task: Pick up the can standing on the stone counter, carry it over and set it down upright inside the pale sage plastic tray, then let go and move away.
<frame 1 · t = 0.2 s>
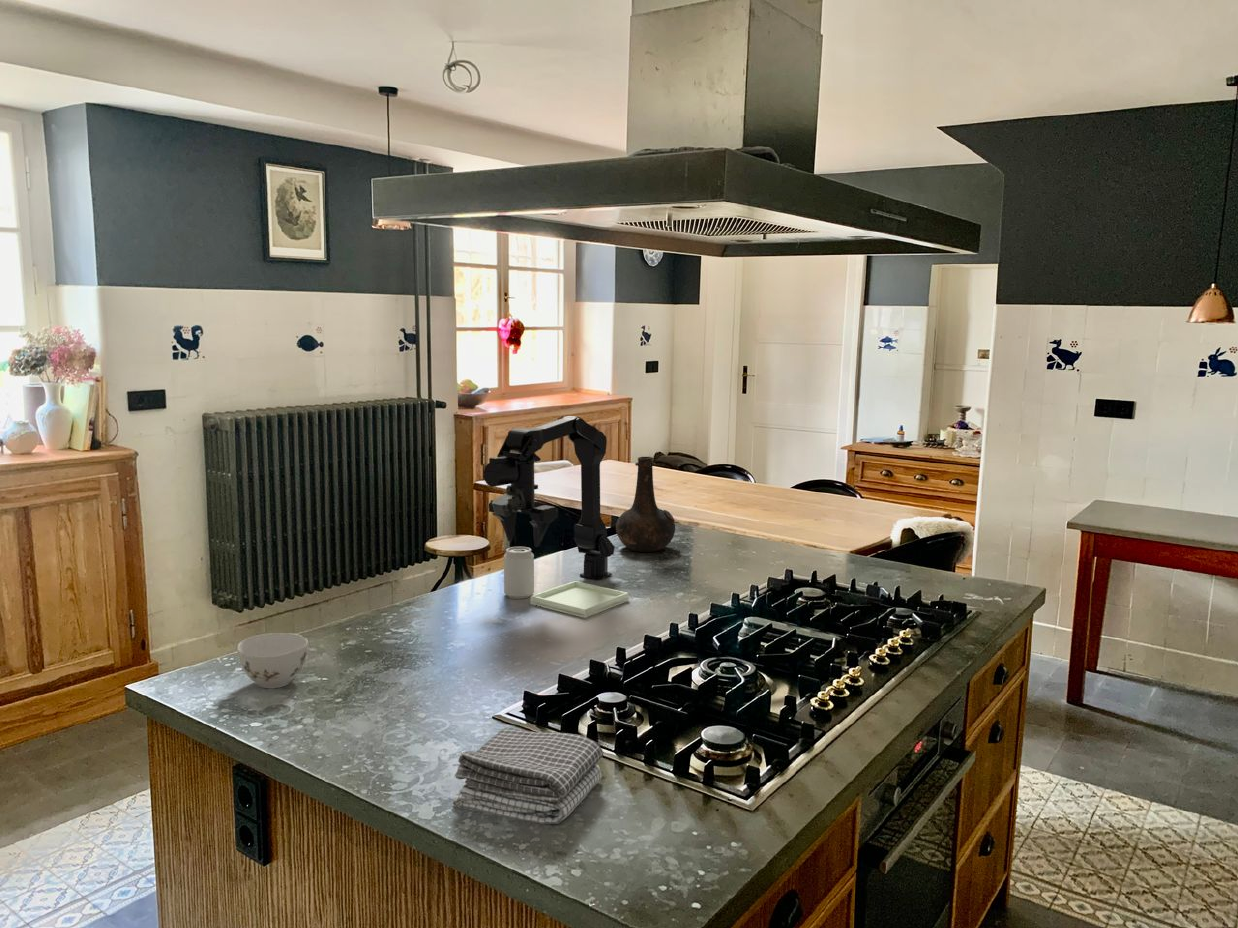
hand: (523, 543, 228), 14 cm above the worktop, tool pointing down, fingers open, 9 cm apart
towel: (528, 795, 137), on the worktop
teacup: (279, 681, 178), on the worktop
tray: (579, 602, 228), on the worktop
glass bottle: (645, 549, 282), on the worktop
can: (519, 596, 233), on the worktop
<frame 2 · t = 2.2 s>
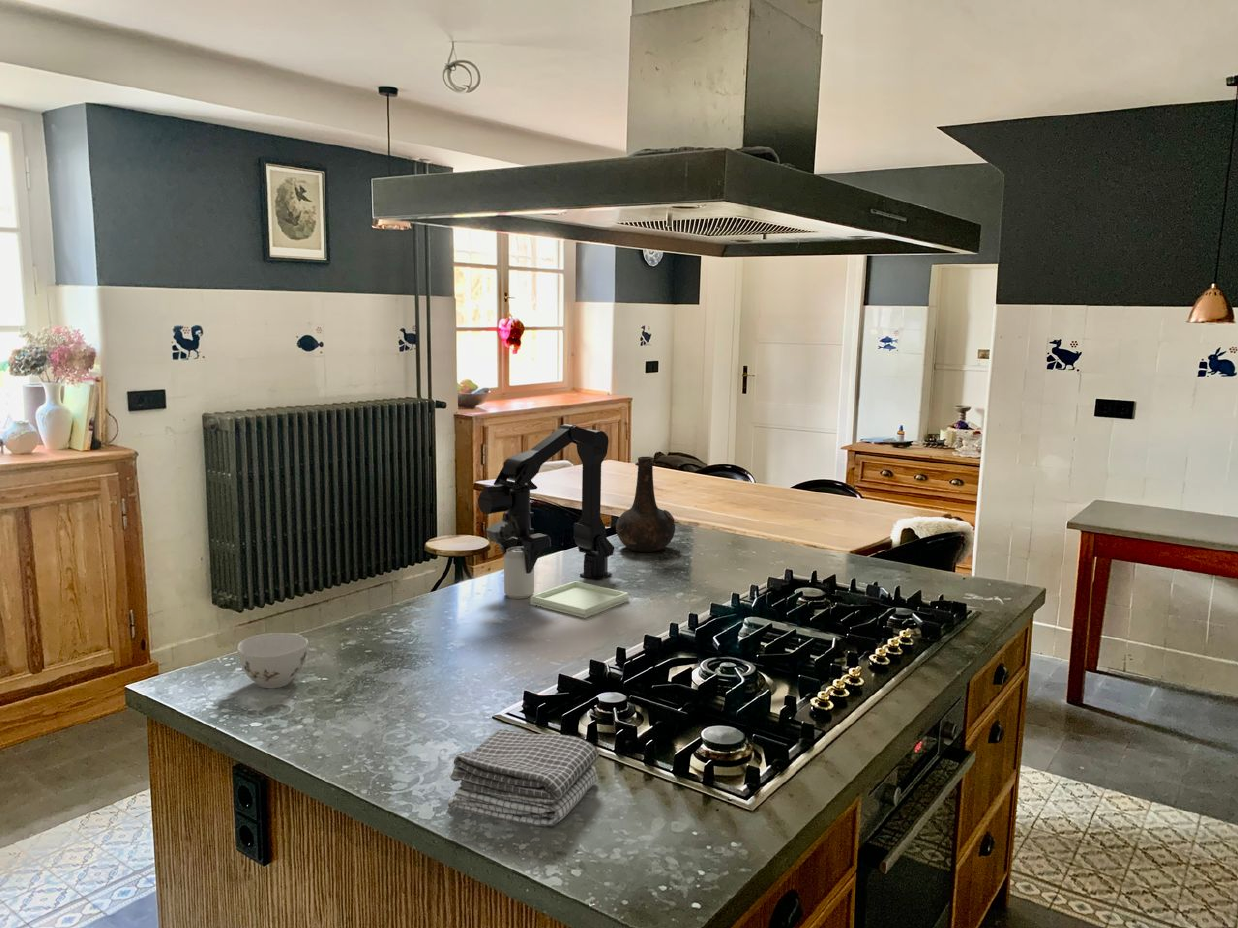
hand: (519, 570, 232), 7 cm above the worktop, tool pointing down, fingers closed on can, 7 cm apart
can: (519, 596, 233), on the worktop, touching gripper
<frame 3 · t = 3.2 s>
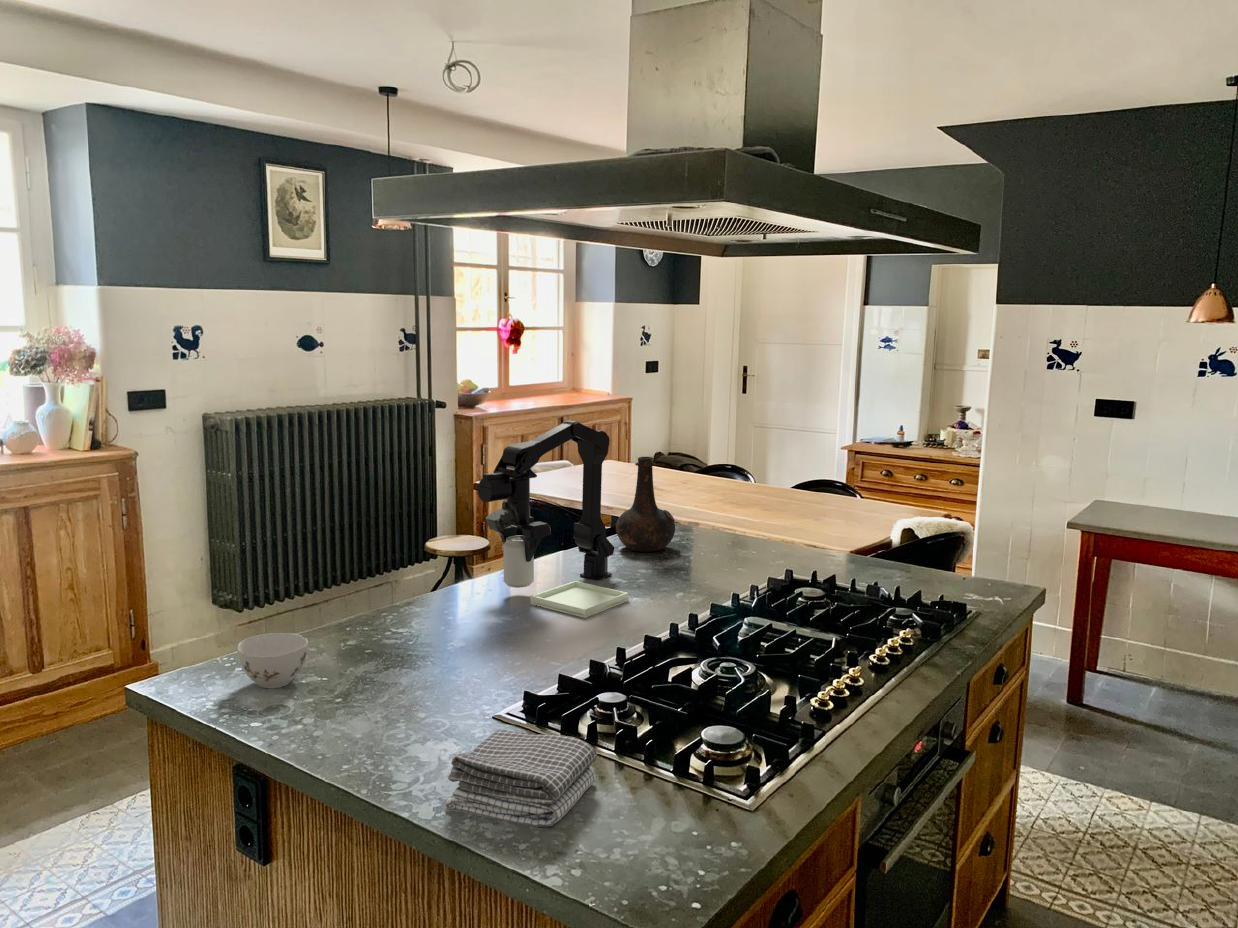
hand: (518, 558, 232), 9 cm above the worktop, tool pointing down, fingers closed on can, 7 cm apart
can: (518, 585, 233), point 3 cm above the worktop, touching gripper
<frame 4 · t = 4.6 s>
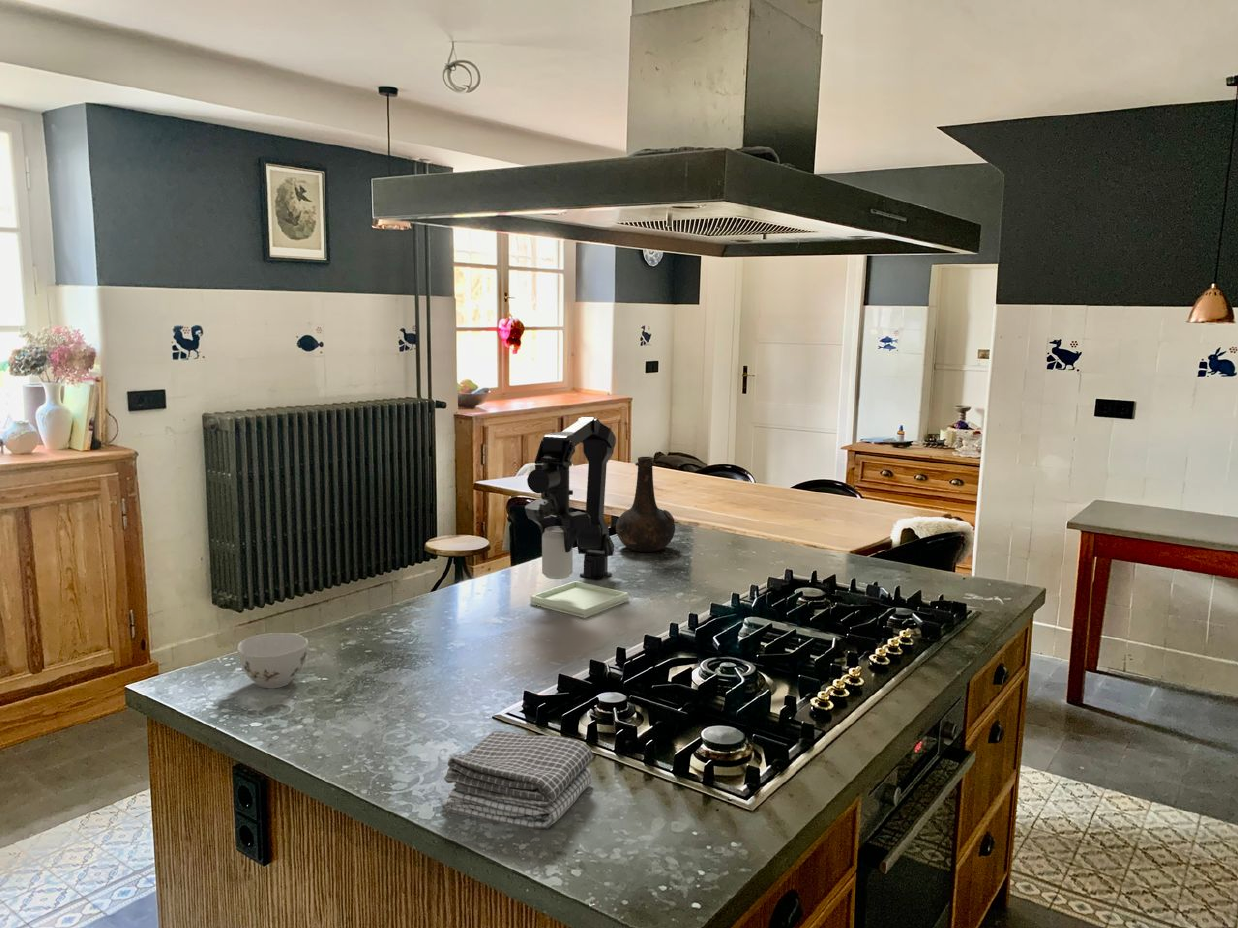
hand: (557, 549, 228), 13 cm above the worktop, tool pointing down, fingers closed on can, 7 cm apart
can: (557, 576, 229), point 6 cm above the worktop, touching gripper
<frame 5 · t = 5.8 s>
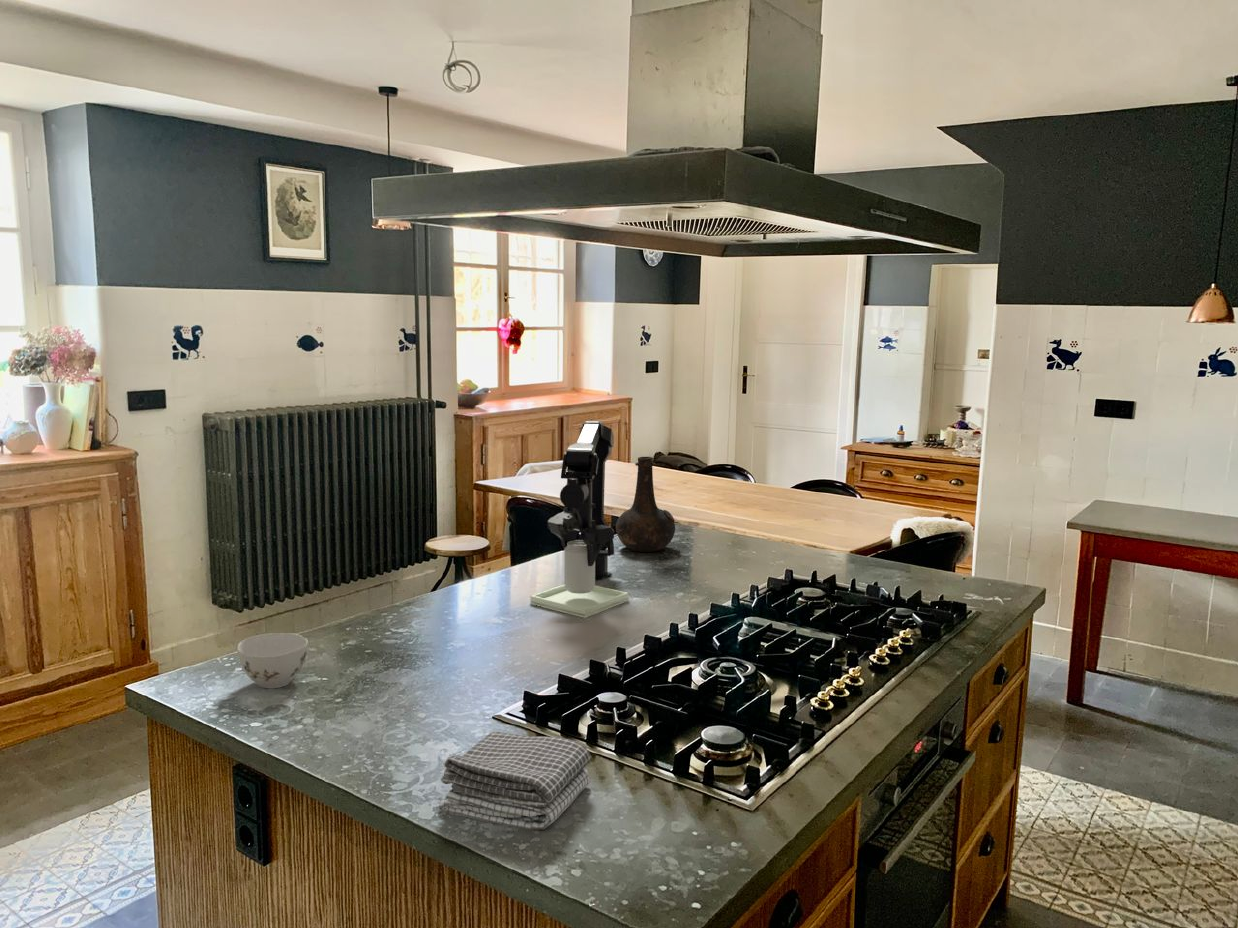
hand: (579, 562, 227), 10 cm above the worktop, tool pointing down, fingers closed on can, 7 cm apart
can: (579, 590, 228), point 3 cm above the worktop, touching gripper
when the fingers open (8 cm above the worktop, at t = 7.1 s): can stays where it is, resting on tray.
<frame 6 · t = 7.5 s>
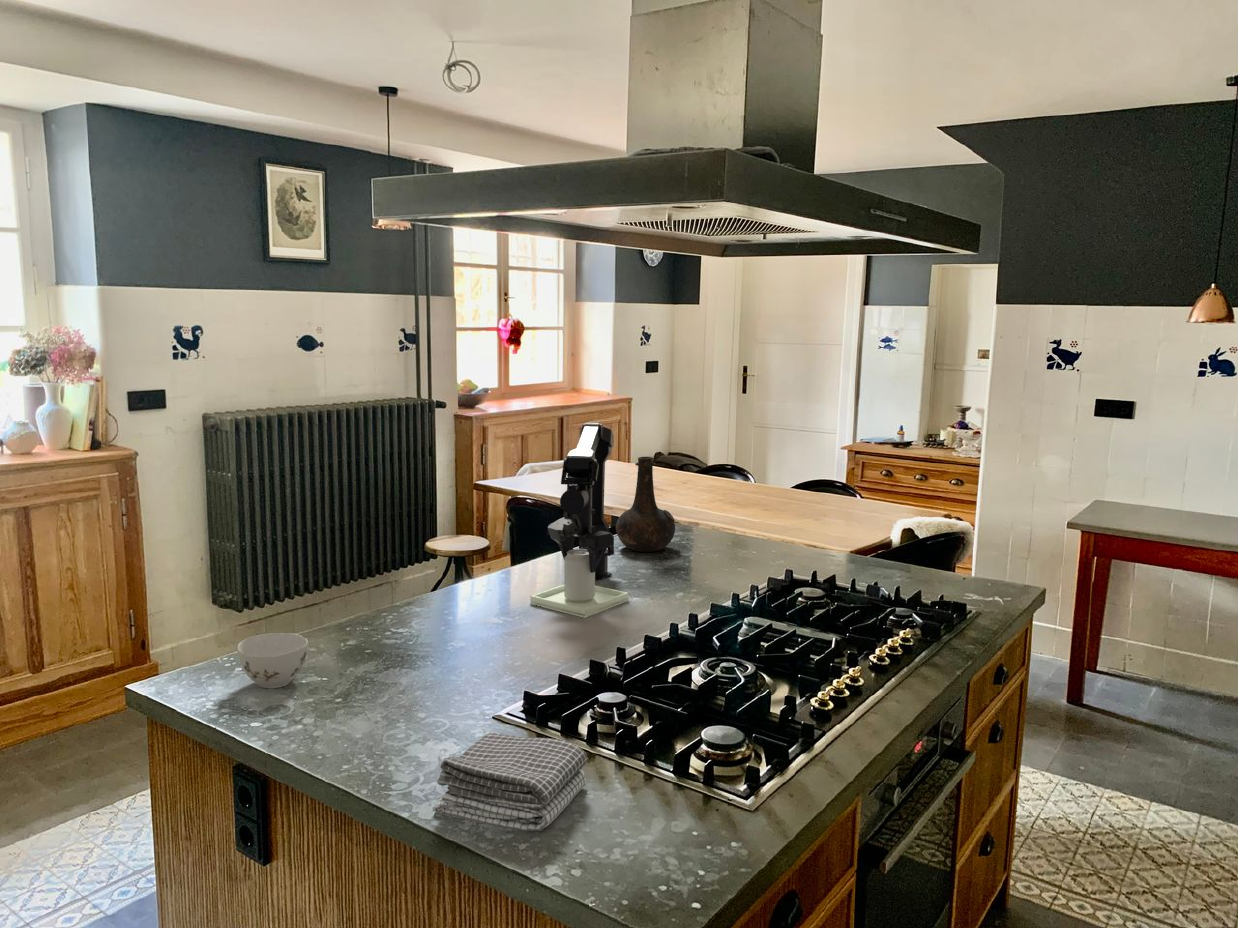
hand: (579, 568, 227), 8 cm above the worktop, tool pointing down, fingers open, 9 cm apart
can: (579, 599, 228), point 1 cm above the worktop, touching tray
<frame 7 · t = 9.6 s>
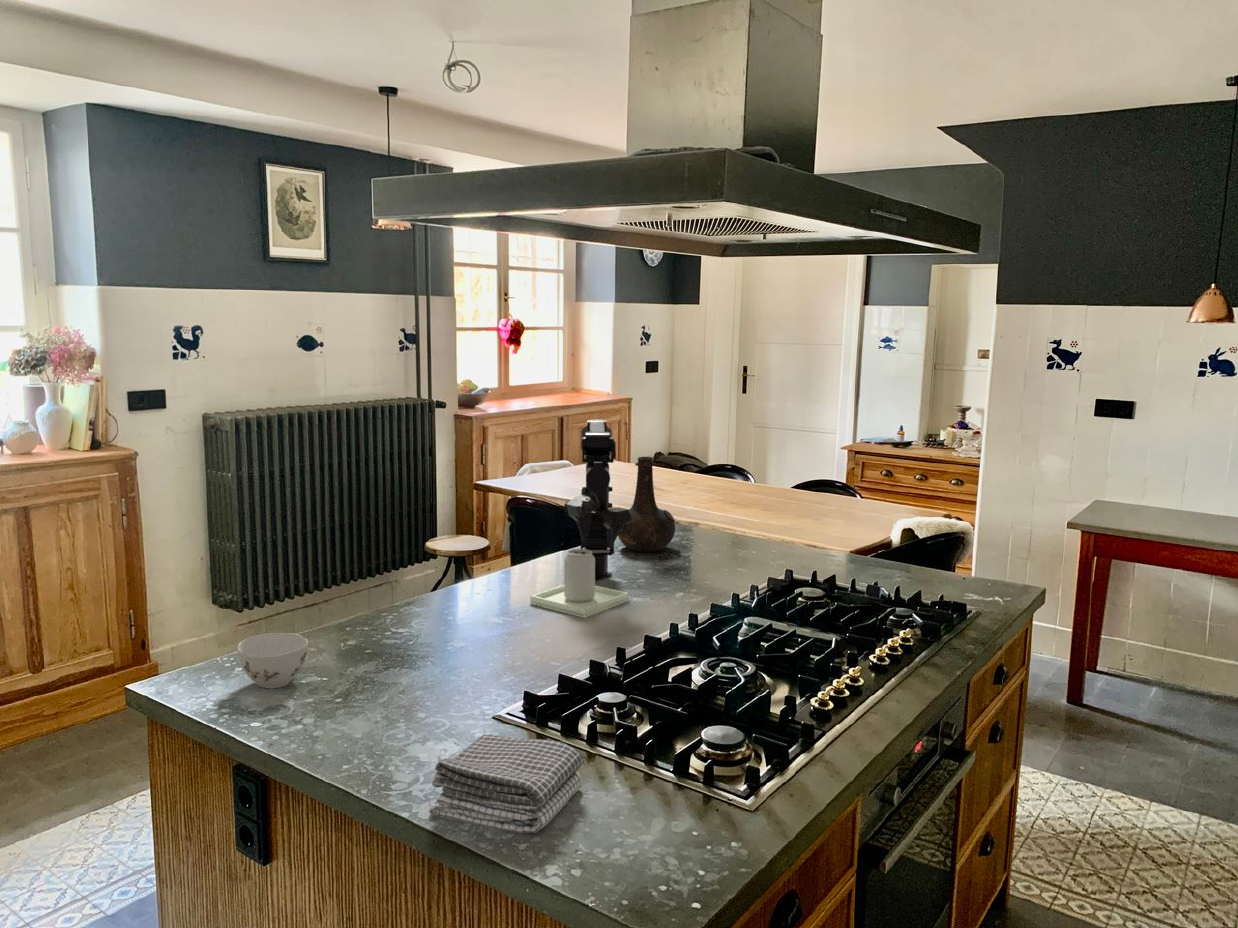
hand: (597, 544, 233), 13 cm above the worktop, tool pointing down, fingers open, 9 cm apart
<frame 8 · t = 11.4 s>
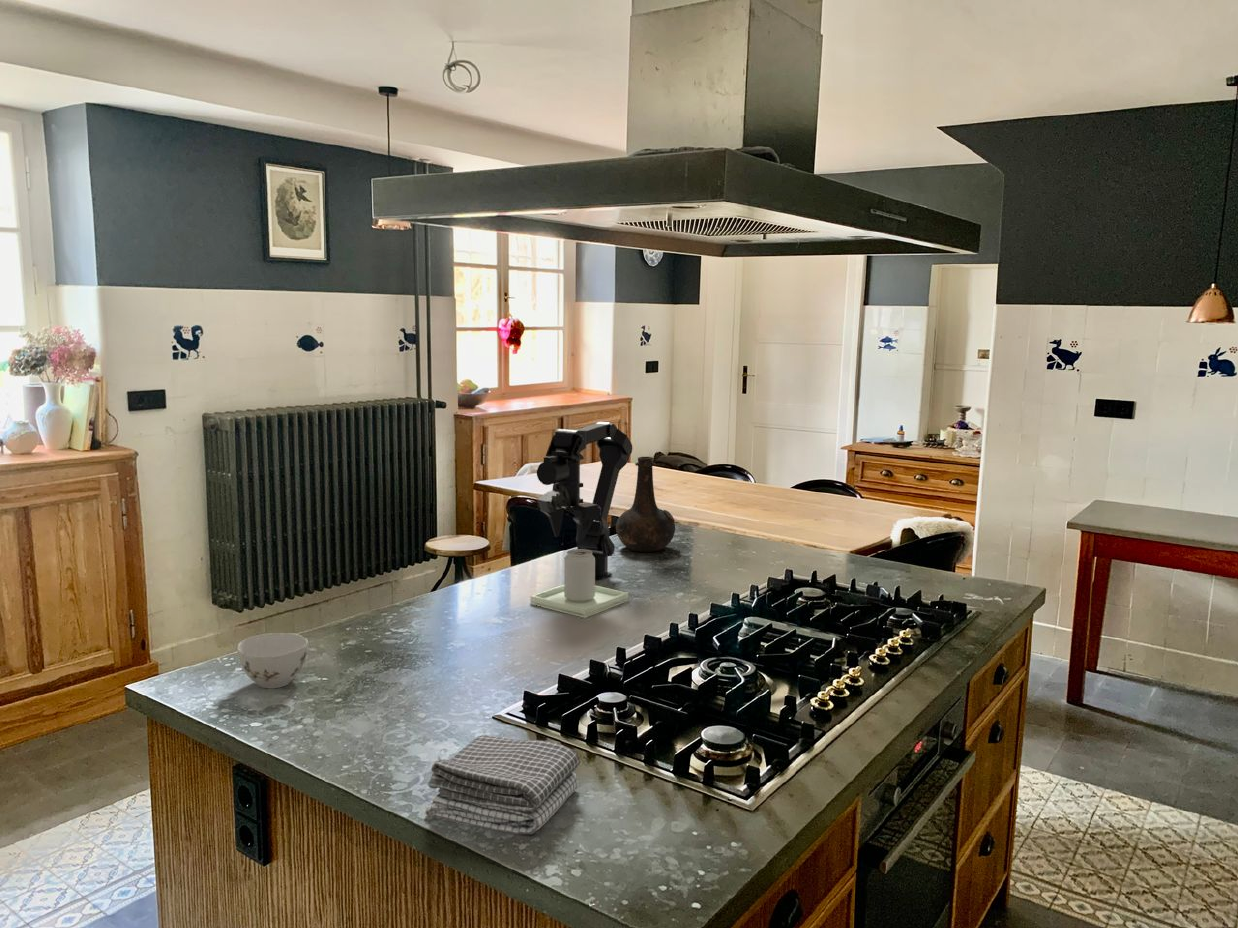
hand: (568, 539, 237), 13 cm above the worktop, tool pointing down, fingers open, 9 cm apart
at the end: can inside the target area on the tray (0.1 cm from its centre), point 0.6 cm above the tray's base; can tilted 0°; the gripper is holding nothing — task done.
